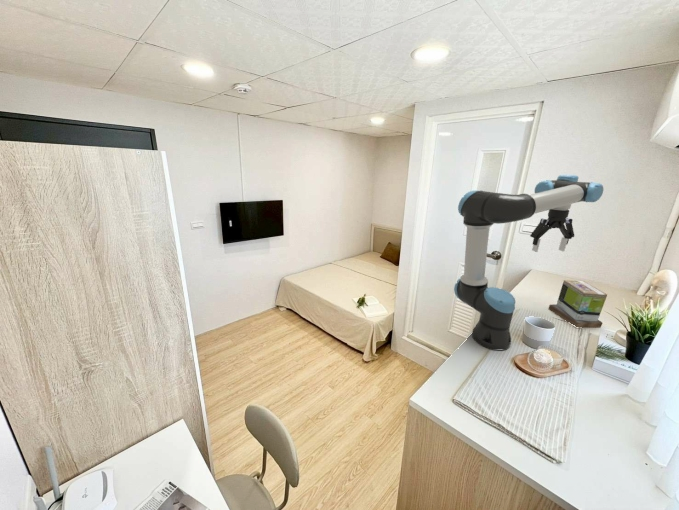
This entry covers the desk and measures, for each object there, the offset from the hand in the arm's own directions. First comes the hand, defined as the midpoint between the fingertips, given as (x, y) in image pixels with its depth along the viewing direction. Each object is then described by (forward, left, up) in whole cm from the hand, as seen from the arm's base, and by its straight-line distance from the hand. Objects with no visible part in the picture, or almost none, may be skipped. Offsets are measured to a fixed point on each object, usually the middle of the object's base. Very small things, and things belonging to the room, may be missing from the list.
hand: (548, 250), depth 131 cm
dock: (+13, -11, -33) cm, 37 cm away
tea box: (+13, -11, -30) cm, 34 cm away
